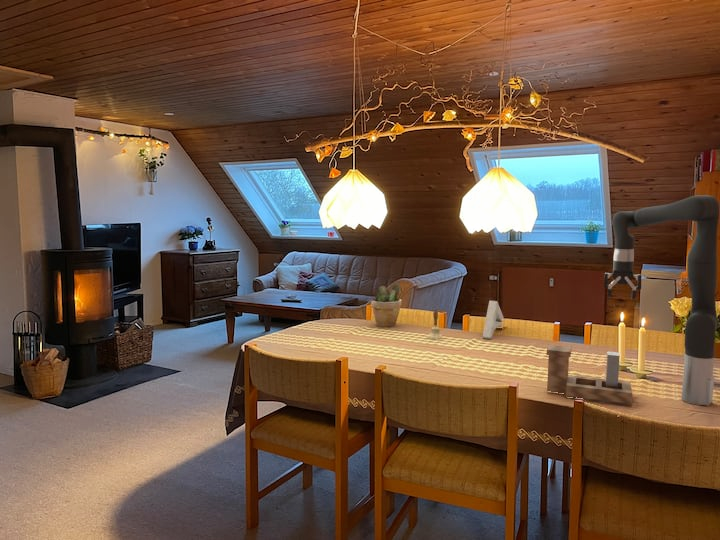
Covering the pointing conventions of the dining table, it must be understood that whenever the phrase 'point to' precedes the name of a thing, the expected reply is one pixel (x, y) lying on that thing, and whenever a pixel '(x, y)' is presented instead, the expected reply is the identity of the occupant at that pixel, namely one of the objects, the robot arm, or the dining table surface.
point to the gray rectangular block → (612, 370)
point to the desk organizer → (582, 381)
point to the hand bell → (435, 328)
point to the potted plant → (386, 306)
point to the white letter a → (492, 319)
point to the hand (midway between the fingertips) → (621, 298)
